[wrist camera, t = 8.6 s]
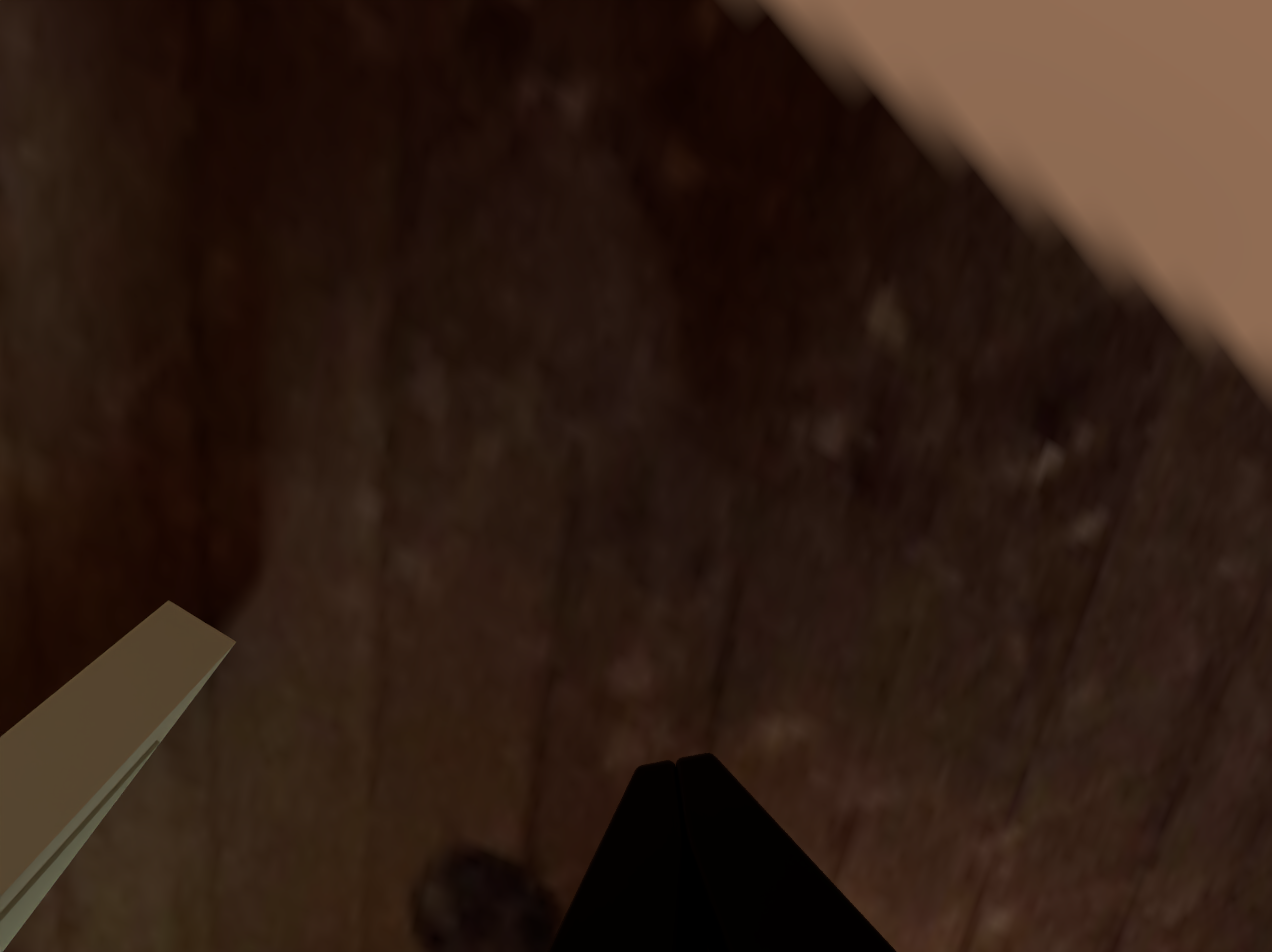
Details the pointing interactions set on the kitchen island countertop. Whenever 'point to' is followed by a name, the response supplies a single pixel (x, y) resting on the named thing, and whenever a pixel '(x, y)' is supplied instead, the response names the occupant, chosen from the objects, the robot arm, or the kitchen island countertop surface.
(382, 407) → the kitchen island countertop surface
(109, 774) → the door
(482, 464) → the kitchen island countertop surface
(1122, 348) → the kitchen island countertop surface
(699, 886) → the robot arm
